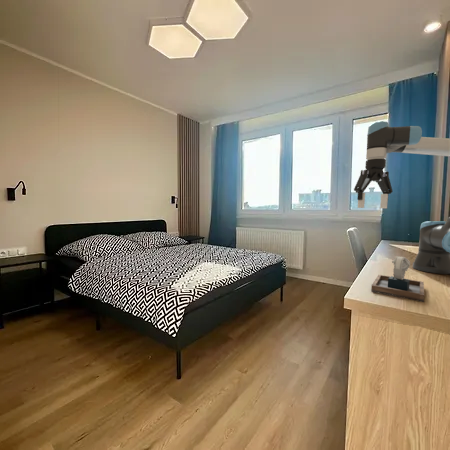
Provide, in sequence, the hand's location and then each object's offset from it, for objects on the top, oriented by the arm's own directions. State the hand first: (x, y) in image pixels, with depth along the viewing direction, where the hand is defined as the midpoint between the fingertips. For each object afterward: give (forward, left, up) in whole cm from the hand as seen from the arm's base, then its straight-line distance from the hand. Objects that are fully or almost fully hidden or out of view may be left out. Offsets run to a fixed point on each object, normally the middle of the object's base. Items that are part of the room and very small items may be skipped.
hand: (372, 208), depth 108 cm
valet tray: (+3, +24, -29) cm, 38 cm away
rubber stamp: (+3, +24, -28) cm, 37 cm away
